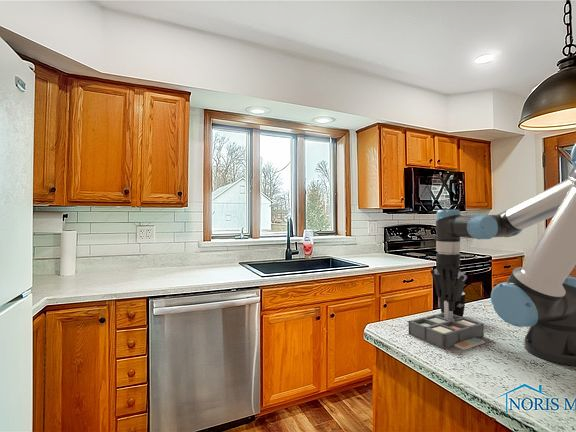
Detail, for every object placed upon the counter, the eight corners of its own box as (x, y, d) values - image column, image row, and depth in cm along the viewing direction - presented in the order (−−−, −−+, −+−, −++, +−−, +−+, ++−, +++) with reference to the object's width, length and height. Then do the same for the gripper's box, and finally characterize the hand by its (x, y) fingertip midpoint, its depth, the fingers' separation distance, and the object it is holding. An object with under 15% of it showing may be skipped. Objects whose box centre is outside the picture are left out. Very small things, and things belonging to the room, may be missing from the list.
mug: (458, 323, 112) (458, 296, 112) (435, 317, 119) (434, 291, 119) (473, 317, 119) (472, 291, 119) (449, 311, 126) (449, 287, 126)
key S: (452, 337, 95) (452, 330, 95) (443, 339, 93) (443, 333, 93) (440, 332, 99) (440, 326, 99) (430, 334, 97) (430, 328, 97)
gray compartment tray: (493, 340, 97) (493, 326, 97) (454, 353, 89) (453, 338, 89) (446, 323, 112) (446, 312, 112) (408, 333, 103) (408, 321, 103)
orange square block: (464, 335, 98) (464, 329, 98) (455, 338, 96) (455, 332, 96) (451, 331, 102) (451, 325, 102) (443, 333, 100) (443, 327, 100)
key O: (476, 330, 101) (476, 324, 101) (467, 332, 99) (467, 326, 99) (463, 325, 105) (463, 320, 105) (454, 328, 103) (454, 322, 103)
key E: (436, 333, 101) (436, 327, 101) (426, 335, 99) (426, 329, 99) (424, 328, 105) (424, 322, 105) (415, 330, 103) (415, 325, 103)
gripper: (472, 254, 103) (473, 323, 103) (438, 250, 114) (439, 312, 115) (458, 256, 99) (459, 327, 100) (425, 251, 111) (425, 315, 111)
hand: (448, 319), depth 107 cm, fingers closed
